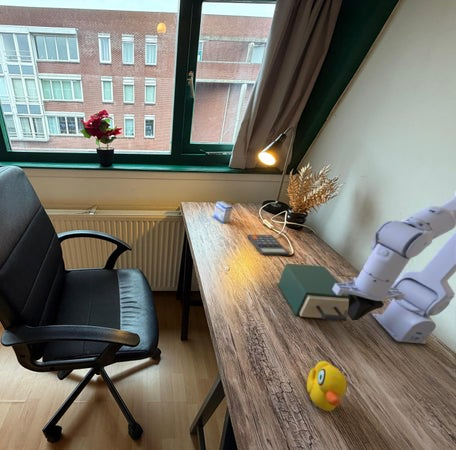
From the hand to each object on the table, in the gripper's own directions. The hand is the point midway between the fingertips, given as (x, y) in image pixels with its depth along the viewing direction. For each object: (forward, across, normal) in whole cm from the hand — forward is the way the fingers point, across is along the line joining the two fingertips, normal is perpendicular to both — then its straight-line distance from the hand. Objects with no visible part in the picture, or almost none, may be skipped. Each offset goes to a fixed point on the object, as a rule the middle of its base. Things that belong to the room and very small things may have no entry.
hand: (352, 317), depth 60 cm
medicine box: (+11, +17, -72) cm, 75 cm away
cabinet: (+10, 0, -16) cm, 19 cm away
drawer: (+10, 0, -12) cm, 15 cm away
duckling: (+11, +12, +14) cm, 21 cm away
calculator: (+10, +1, -49) cm, 50 cm away
